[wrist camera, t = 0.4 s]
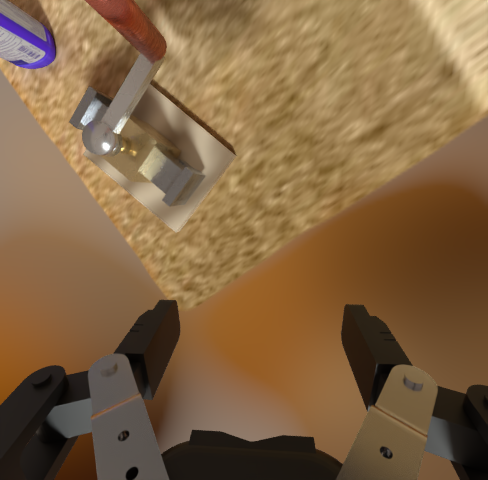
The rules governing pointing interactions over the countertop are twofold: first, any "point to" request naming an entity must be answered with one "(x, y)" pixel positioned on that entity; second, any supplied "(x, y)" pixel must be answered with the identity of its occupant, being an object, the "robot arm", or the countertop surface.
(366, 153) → the countertop surface
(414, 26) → the countertop surface
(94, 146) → the valve lever
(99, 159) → the valve board
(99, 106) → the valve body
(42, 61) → the bottle
